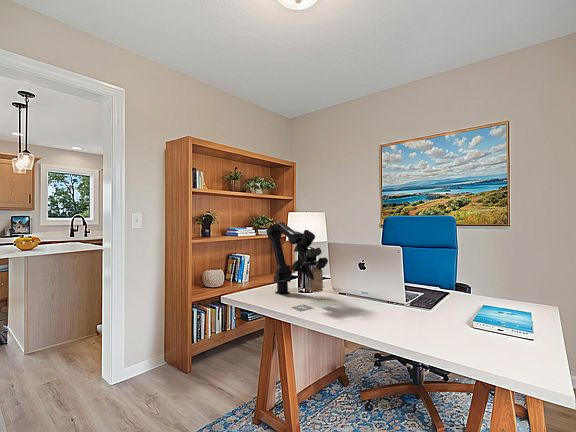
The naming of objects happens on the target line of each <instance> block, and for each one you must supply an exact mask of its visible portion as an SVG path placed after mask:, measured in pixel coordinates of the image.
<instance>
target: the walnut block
mask: <svg viewBox="0 0 576 432" xmlns="http://www.w3.org/2000/svg"><path fill="white" fill-rule="evenodd" d="M310 271H311V273H312V275H313V277H314V279H313V280H312V279H311V278H309V277H308V288H309V289H308V290H309V291H310V292H311V293H320V292H323V291H324V290H323V289H324V286H323V284H324V283H323V282H324V281H323V279H324V278H323V270H322V269H321V270H320V269H315V268H313V269H312V268H311V269H310Z"/></svg>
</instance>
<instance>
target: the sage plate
mask: <svg viewBox="0 0 576 432" xmlns="http://www.w3.org/2000/svg"><path fill="white" fill-rule="evenodd" d="M308 304H309V305H312V306H314V307H317V308H321V309H322V308H326V307H330V306H337V303H335V302H332V301H329V300H326V299H321V300H316V301H311V302H308Z"/></svg>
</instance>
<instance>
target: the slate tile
mask: <svg viewBox="0 0 576 432" xmlns="http://www.w3.org/2000/svg"><path fill="white" fill-rule="evenodd" d="M290 308H291V309H293V310H295V311H298V312H304V311H305V312H306V311H308V310H315V308H314V307H313V306H309V305H306V304H301V305H296V306H292V307H290Z"/></svg>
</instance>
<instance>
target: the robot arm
mask: <svg viewBox="0 0 576 432" xmlns="http://www.w3.org/2000/svg"><path fill="white" fill-rule="evenodd" d="M265 232H266V235H267V238H268V239H269V240H270V241H271V243H272V248H273V253H274V258H275V260H276V265H277V266H276V268H275V275H274V277H273V283H275V284H276V289H277V290H276V291H274V293H276V294H278V295H286V294H291V291H289V287H288V285H289V284H288V283H291V281H292V276H293V274H292V272H293V273H294V272H299V273H302V274H304V275H305V276H307V277H308V279H309V278H311V279H312V280H313V279H314V277H313V275H312V273H311V271H310V270H311V269H310V267H314V269H320V270H322V269H325V267H326V266H327V264H328V263H329V259H328V258H327V257H319V258H318V259H317V257H318V256H320V255H321V254H322V250H321V247H316V248H311V249H309V247H311V245H312V244H313V242H314V241H315V239H316V235H315V233H313V232H312V231H310V230H309V229H304V230H303V233H302V232H300V231H296V230H294V229H293V228H291V227H290V226H288V225H287V224H286V223H285V222H283V221H282V222H281V221H278V222H275V224H272V225H269V226H268V227H267V229H266V231H265ZM282 234H283V235H284V236H286V237H287V241H288V242H289V243H290V244H291V245H295V246H294V253H296V252H297V254H298V256H299V258H298V259H296V260H294V262H293V264H292V265H291V266H290V265H289V264H287V263H286V259H285V254H284V251H283V245H282V243H281V239H282V236H283V235H282Z"/></svg>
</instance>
